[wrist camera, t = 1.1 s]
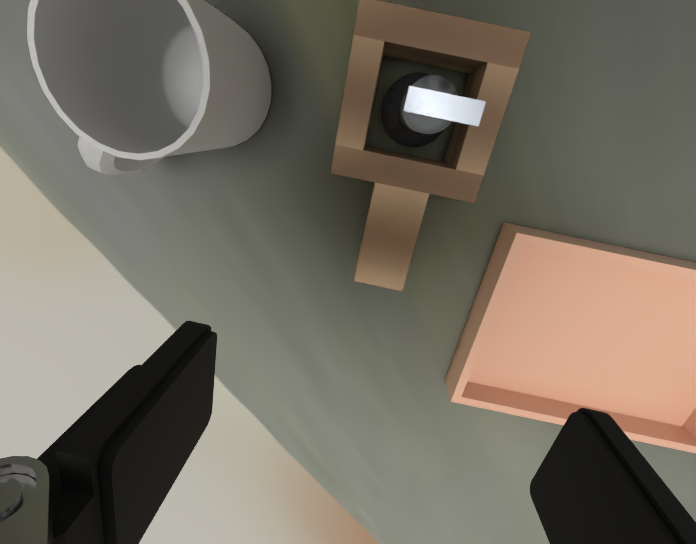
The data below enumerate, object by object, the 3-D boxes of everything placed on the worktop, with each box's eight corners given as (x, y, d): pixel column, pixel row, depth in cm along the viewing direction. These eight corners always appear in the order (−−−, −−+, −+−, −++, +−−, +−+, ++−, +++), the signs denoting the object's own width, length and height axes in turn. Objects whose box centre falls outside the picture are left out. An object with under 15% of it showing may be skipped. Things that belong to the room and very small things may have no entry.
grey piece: (390, 67, 21) (396, 33, 13) (457, 81, 21) (502, 56, 13) (375, 139, 22) (372, 147, 15) (437, 152, 22) (468, 167, 15)
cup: (298, 84, 22) (247, 59, 13) (204, 200, 25) (116, 237, 17) (203, -17, 20) (80, -114, 12) (116, 121, 23) (-28, 119, 15)
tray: (503, 222, 24) (516, 232, 21) (789, 281, 24) (834, 298, 21) (445, 379, 29) (450, 401, 27) (680, 428, 29) (706, 455, 26)
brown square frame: (363, 20, 20) (359, -4, 16) (503, 49, 20) (531, 31, 16) (323, 251, 26) (313, 272, 22) (433, 274, 26) (442, 299, 22)
